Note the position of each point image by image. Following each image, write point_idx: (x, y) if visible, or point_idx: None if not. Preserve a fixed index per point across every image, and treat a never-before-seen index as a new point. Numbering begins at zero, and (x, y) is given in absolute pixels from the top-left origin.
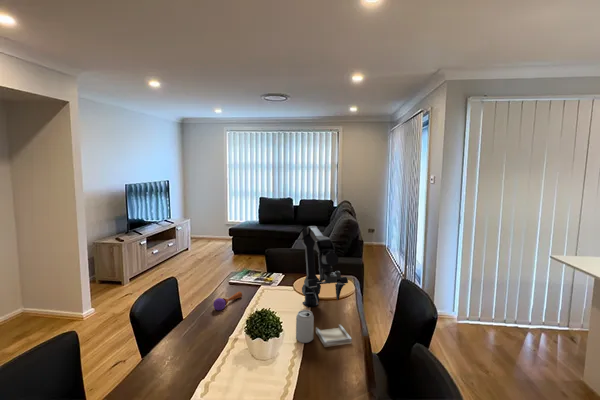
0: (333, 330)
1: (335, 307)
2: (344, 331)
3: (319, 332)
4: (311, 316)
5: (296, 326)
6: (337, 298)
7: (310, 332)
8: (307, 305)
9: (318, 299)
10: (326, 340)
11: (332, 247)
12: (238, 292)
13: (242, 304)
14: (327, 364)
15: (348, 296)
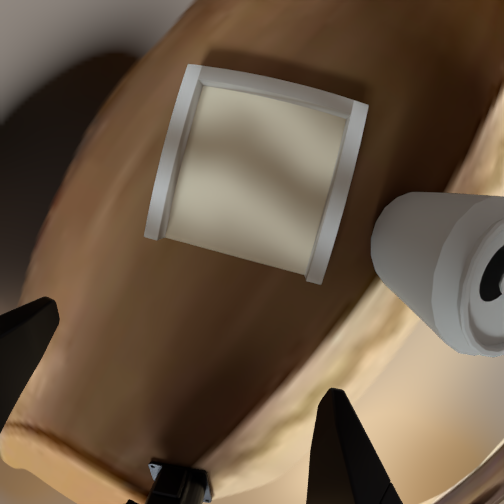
0: (212, 225)
1: (85, 408)
2: (174, 148)
3: (335, 219)
4: (489, 222)
5: (496, 277)
6: (42, 319)
7: (439, 193)
8: (203, 481)
9: (345, 421)
10: (322, 149)
11: None
12: None
13: None
14: (411, 15)
15: (21, 423)
